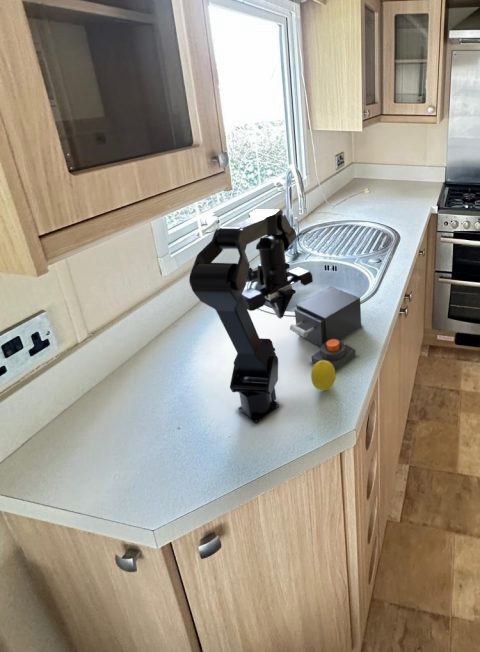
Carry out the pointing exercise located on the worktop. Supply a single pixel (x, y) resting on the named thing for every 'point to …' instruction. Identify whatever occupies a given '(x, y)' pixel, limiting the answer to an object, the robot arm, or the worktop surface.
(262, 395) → the robot arm
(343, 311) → the air fryer
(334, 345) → the button
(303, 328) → the basket
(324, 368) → the lemon
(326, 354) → the control block
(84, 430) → the worktop surface
